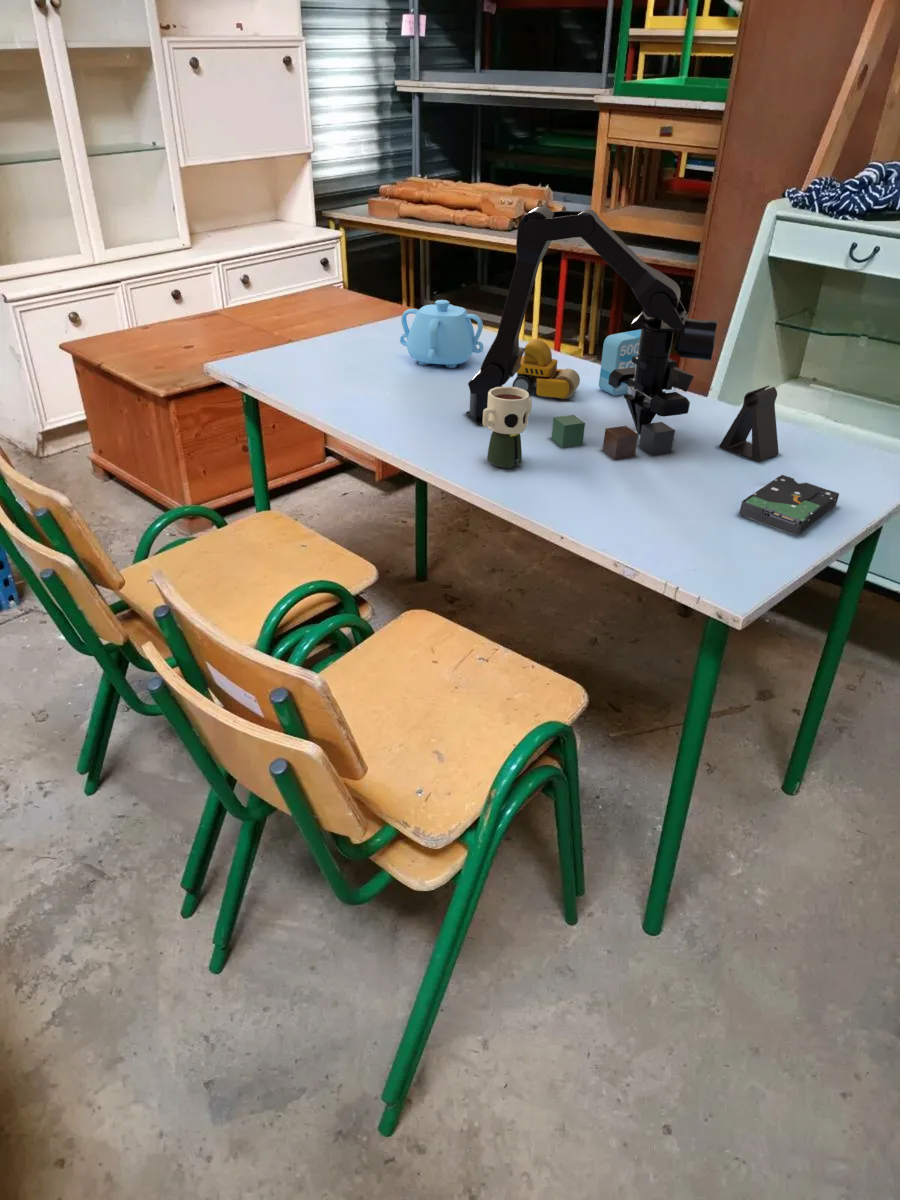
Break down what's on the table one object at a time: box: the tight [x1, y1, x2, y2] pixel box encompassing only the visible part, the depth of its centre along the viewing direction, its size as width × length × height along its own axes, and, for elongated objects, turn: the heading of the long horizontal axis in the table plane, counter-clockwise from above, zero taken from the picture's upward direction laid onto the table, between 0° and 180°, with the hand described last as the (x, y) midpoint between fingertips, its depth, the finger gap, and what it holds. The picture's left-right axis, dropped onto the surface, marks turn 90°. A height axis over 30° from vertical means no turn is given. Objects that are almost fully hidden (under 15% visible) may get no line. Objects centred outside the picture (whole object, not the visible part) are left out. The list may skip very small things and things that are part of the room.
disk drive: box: [738, 474, 840, 536], centre depth 143 cm, size 10×3×15 cm
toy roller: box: [512, 338, 581, 400], centre depth 186 cm, size 9×14×10 cm, turn 71°
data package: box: [598, 328, 641, 397], centre depth 188 cm, size 12×4×12 cm, turn 123°
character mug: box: [482, 386, 533, 468], centre depth 153 cm, size 11×7×13 cm, turn 128°
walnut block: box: [602, 425, 639, 461], centre depth 160 cm, size 4×4×4 cm
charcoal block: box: [638, 421, 676, 456], centre depth 163 cm, size 4×4×4 cm
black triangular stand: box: [718, 385, 780, 463], centre depth 161 cm, size 9×6×12 cm, turn 40°
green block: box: [550, 414, 586, 449], centre depth 164 cm, size 4×4×4 cm
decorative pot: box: [399, 299, 485, 369], centre depth 201 cm, size 16×16×14 cm
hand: (640, 434), depth 167 cm, fingers closed
